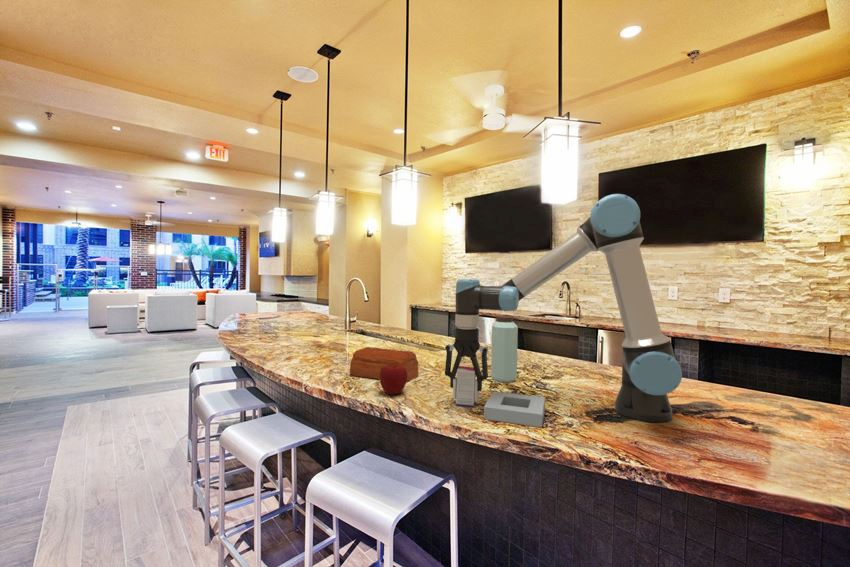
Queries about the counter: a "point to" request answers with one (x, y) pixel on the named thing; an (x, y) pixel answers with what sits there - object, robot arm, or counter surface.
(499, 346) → the water bottle
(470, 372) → the supplement box
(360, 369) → the bread
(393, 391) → the apple
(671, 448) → the counter surface
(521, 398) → the socket block
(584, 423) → the counter surface
